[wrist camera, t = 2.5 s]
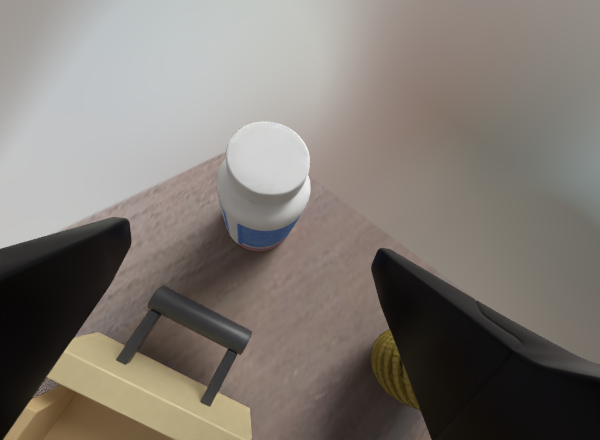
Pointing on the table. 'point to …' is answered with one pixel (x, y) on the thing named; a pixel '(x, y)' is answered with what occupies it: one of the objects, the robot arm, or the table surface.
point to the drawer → (139, 386)
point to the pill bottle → (263, 184)
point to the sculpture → (391, 370)
